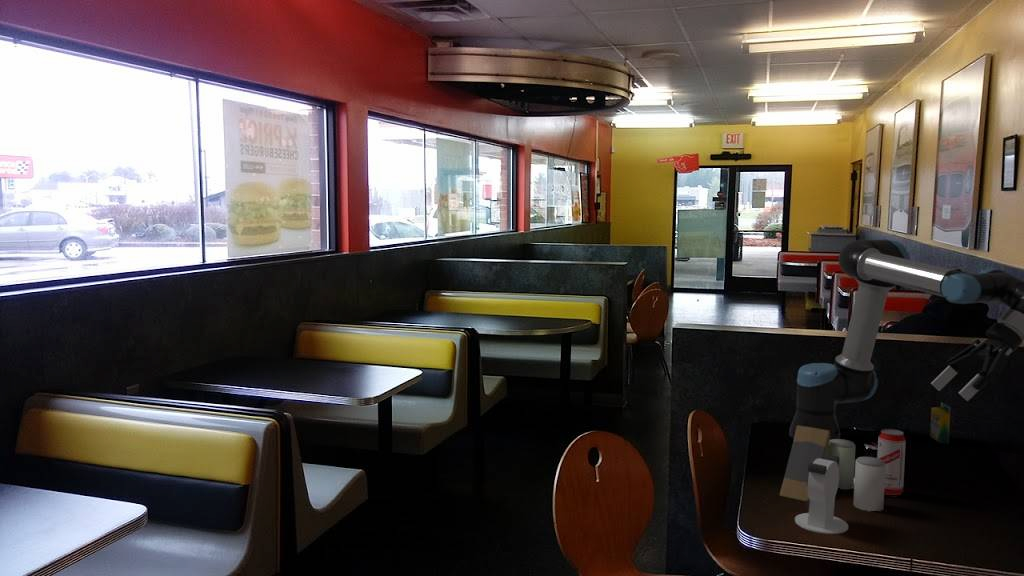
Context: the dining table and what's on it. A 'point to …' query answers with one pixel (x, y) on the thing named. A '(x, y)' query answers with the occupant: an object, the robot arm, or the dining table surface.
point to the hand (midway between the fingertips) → (948, 392)
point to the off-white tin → (869, 484)
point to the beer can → (892, 459)
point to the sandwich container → (803, 460)
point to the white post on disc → (822, 497)
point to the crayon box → (940, 424)
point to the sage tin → (844, 461)
